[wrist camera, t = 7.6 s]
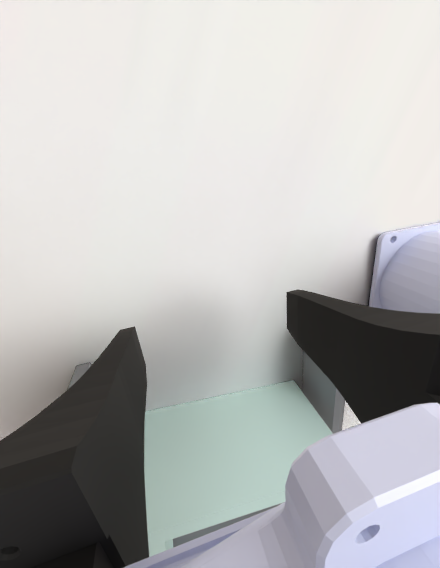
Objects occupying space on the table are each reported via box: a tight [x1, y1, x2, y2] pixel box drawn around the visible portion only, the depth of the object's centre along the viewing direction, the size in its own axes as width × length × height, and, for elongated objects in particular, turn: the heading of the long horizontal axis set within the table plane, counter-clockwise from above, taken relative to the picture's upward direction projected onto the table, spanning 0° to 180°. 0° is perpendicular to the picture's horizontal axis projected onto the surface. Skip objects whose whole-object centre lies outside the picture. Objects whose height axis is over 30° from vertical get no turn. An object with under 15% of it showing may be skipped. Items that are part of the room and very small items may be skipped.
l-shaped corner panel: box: [144, 380, 333, 557], centre depth 19 cm, size 12×12×8 cm
